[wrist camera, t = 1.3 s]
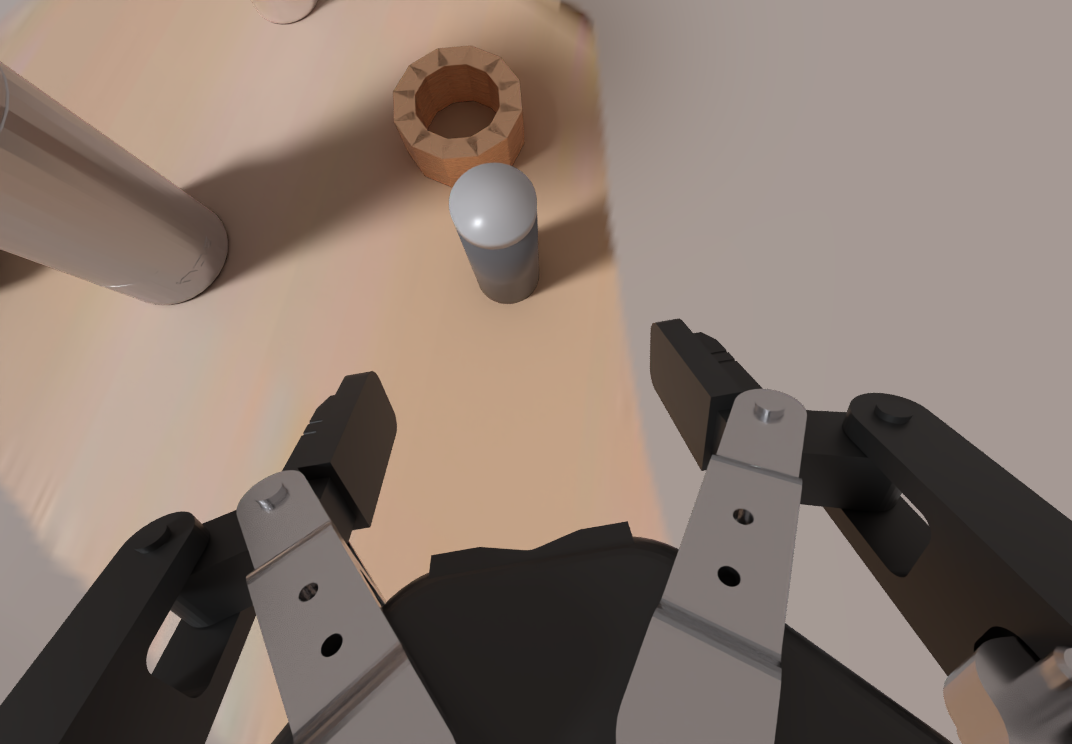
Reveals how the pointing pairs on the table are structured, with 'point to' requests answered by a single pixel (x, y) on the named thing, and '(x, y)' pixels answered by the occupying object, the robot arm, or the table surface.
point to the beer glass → (284, 9)
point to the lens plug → (498, 229)
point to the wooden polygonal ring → (456, 81)
